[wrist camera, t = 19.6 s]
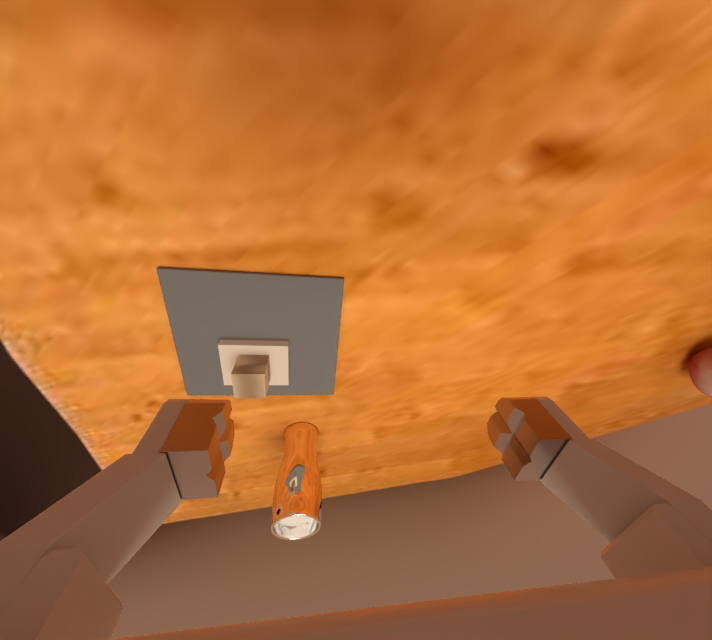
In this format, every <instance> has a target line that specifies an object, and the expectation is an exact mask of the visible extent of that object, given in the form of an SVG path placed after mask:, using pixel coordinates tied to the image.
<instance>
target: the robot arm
mask: <svg viewBox="0 0 712 640" xmlns="http://www.w3.org/2000/svg"><path fill="white" fill-rule="evenodd" d="M495 408H496V410H497V412H496V413H494V414H493V415H492V416H490V419H489V421H488V423H487V431H488V435H489V438H490V441H491V442H492V444H493V446H494V447H495V448H496V449H498V450H499V451H500V452H502V461H503V462H504V464H505V466H506V467H507V469H508V471H509V472H510V474H511V476H512V477H513V479H514V480H541V481H540V482H542V483H543V484H544V485H545V486H546V487H548V488H549V489H550V490H551V491H552V492H553V493H554V494H555V495H557V496H558V497H559V498H560V499H561V500H562V501H564V502H565V503H566V504H567V505H568V506H569V507H570V508H571V509H573V510H574V511H575V512H576V513H577V514H578V515H579V516H581V517H582V518H583V519H584V520H585V521H586V522H587V523H589V524H590V525H591V526H592V527H593V528H594V529H595V530H597V531H598V532H599V533H600V534H601V535H602V536H604V537H605V538H606V539H607V540H608V541H609V542H610V544H609V545H608V546H607V547H606V548H604V549H603V550H602V551H601V558H602V560H603V561H604V563H605V564H606V565H607V567H608V568H609V570H610V571H611V573H612V574H613V576H614V577H615V579H607V580H597V581H589V582H581V583H573V584H564V585H556V586H548V587H539V588H531V589H524V590H515V591H506V592H498V593H490V594H481V595H473V596H465V597H457V598H448V599H440V600H431V601H423V602H415V603H407V604H398V605H391V606H382V607H373V608H366V609H357V610H349V611H340V612H332V613H324V614H316V615H307V616H299V617H290V618H282V619H274V620H266V621H257V622H249V623H241V624H232V625H225V626H216V627H207V628H199V629H191V630H183V631H175V632H167V633H158V634H149V635H141V636H134V637H124V638H117V639H110V638H111V636H112V633H113V631H114V628H115V626H116V624H117V621H118V619H119V616H120V614H121V611H122V609H123V608H122V605H121V602H120V600H119V599H118V598H117V596H116V595H115V594H114V593H113V592H112V590H111V589H110V587H109V586H108V585H107V584H108V583H109V582H110V581H111V580H112V578H113V577H114V576H115V575H116V574H117V573H118V572H119V571H120V570H121V569H122V567H123V566H124V565H125V564H126V563H127V562H128V561H129V560H130V559H131V558H132V556H133V555H134V554H135V553H136V552H137V551H138V550H139V549H140V548H141V547H142V545H143V544H144V543H145V542H146V541H147V540H148V539H149V538H150V537H151V535H152V534H153V533H154V532H155V531H156V530H157V529H158V528H159V527H160V525H161V524H162V523H163V522H164V521H165V520H166V519H167V518H168V517H169V516H170V514H171V513H172V512H173V511H174V510H175V509H176V508H177V507H178V506H179V504H180V503H181V502H182V501H181V500H186V499H198V498H210V497H218V495H219V492H220V488H221V485H222V482H223V478H224V475H225V466H224V461H225V460H226V459H227V458H228V457H229V456H230V454H231V450H232V447H233V440H234V421H233V420H232V419H231V418H229V417H230V414H231V411H232V408H231V403H230V401H229V400H210V399H189V400H187V399H169V400H168V401H166V402H165V403H164V404H163V405H162V407H161V409H160V410H159V412H158V414H157V415H156V417H155V418H154V420H153V422H152V423H151V425H150V426H149V428H148V430H147V431H146V433H145V435H144V436H143V438H142V439H141V441H140V443H139V444H138V446H137V447H136V449H135V451H134V452H133V454H125V455H124V456H122V457H121V458H120V459H118V460H117V461H115V462H114V463H112V464H111V465H110V466H108V467H107V468H105V469H104V470H102V471H101V472H100V473H98V474H97V475H95V476H94V477H92V478H91V479H90V480H88V481H87V482H85V483H84V484H83V485H81V486H79V487H78V488H77V489H75V490H74V491H72V492H71V493H70V494H68V495H67V496H65V497H64V498H62V499H61V500H59V501H58V502H56V503H55V504H54V505H52V506H51V507H49V508H48V509H46V510H45V511H44V512H42V513H41V514H39V515H38V516H36V517H35V518H34V519H32V520H31V521H29V522H28V523H26V524H25V525H23V526H22V527H21V528H19V529H18V530H17V531H15V532H13V533H12V534H11V535H9V536H8V537H6V538H5V539H3V540H2V541H0V640H712V510H711V509H710V508H709V507H708V506H707V505H705V504H704V503H703V502H702V501H701V500H700V499H698V498H696V497H694V496H693V495H691V494H689V493H688V492H685V491H684V490H682V489H680V488H679V487H677V486H675V485H673V484H671V483H670V482H668V481H666V480H665V479H663V478H661V477H659V476H658V475H656V474H654V473H652V472H651V471H649V470H647V469H645V468H644V467H642V466H640V465H638V464H637V463H635V462H633V461H631V460H630V459H628V458H626V457H624V456H623V455H621V454H619V453H617V452H616V451H614V450H612V449H610V448H609V447H607V446H605V445H603V444H602V443H600V442H598V441H596V440H595V439H589V438H588V437H587V436H586V435H585V434H584V433H583V432H582V431H581V430H580V429H579V428H578V427H577V426H576V424H575V423H574V422H573V421H572V420H571V419H570V418H569V417H568V416H567V415H566V414H565V413H564V412H563V411H562V410H561V409H560V408H559V407H558V406H557V405H556V404H555V403H554V402H553V401H552V400H551V399H549V398H547V397H531V398H530V397H514V398H501V399H500V400H498V402H497V404H496V406H495Z"/></svg>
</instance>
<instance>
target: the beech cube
mask: <svg viewBox="0 0 712 640" xmlns="http://www.w3.org/2000/svg"><path fill="white" fill-rule="evenodd" d="M231 377H232V385H233V392H234V398H266V396H267V392H268V387H269V382H270V359H269V355H238V357H237V360H236V363H235V365H234V368H233V370H232V373H231Z"/></svg>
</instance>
